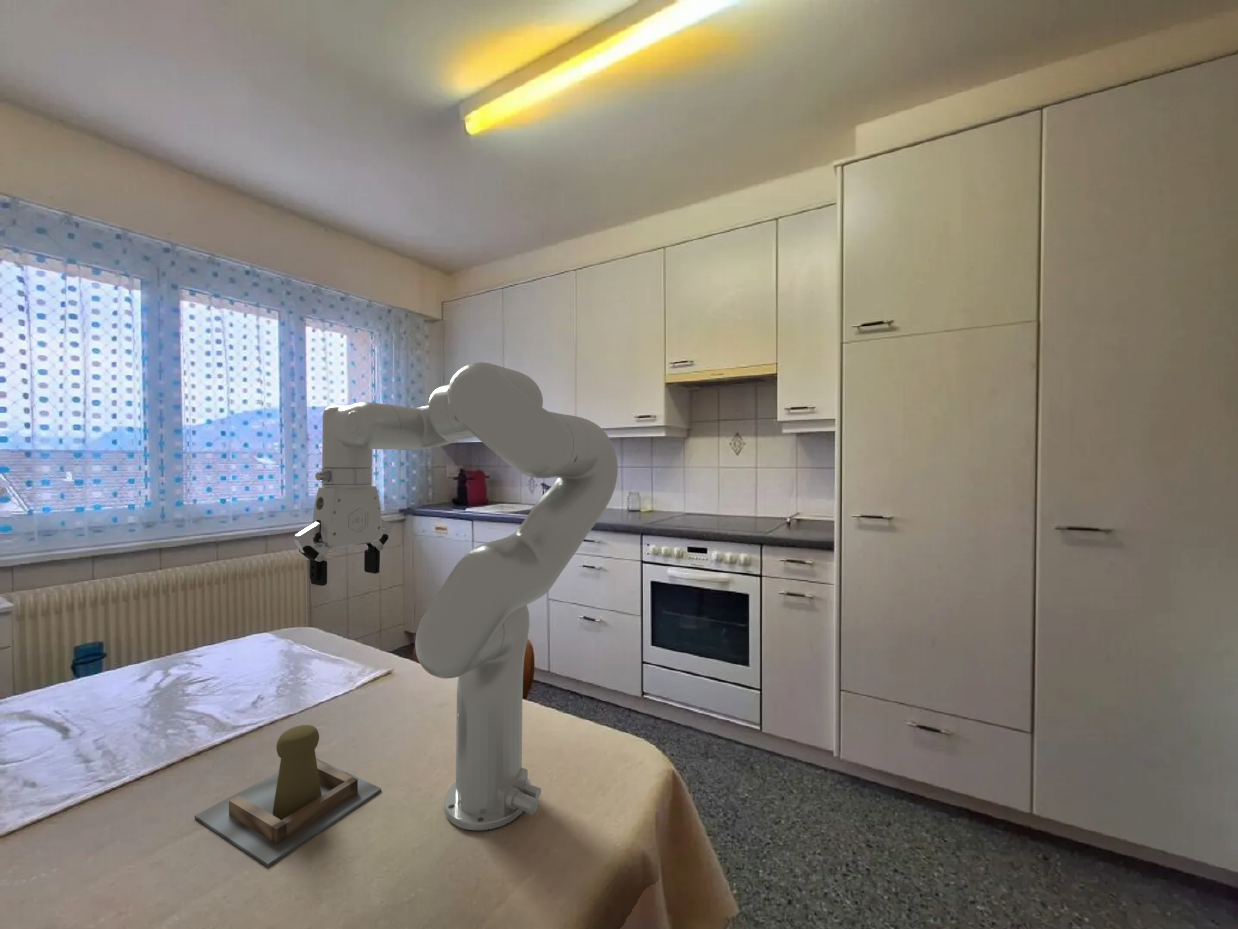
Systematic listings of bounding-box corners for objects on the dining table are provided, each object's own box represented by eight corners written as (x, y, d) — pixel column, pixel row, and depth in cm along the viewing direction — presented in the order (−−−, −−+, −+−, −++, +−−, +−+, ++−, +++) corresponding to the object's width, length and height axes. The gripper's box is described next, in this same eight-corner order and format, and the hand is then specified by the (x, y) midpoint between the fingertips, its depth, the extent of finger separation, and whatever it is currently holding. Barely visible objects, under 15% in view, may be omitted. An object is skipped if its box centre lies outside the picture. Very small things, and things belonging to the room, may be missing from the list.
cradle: (381, 791, 76) (381, 775, 76) (267, 867, 61) (267, 848, 61) (309, 757, 84) (309, 743, 84) (194, 818, 69) (194, 801, 69)
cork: (331, 793, 74) (331, 720, 74) (302, 822, 68) (302, 743, 68) (293, 790, 75) (294, 718, 75) (261, 818, 69) (261, 740, 69)
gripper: (310, 480, 75) (309, 593, 75) (404, 477, 91) (404, 570, 91) (281, 479, 78) (280, 586, 79) (377, 476, 94) (376, 566, 94)
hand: (346, 578), depth 85 cm, fingers open, 9 cm apart
